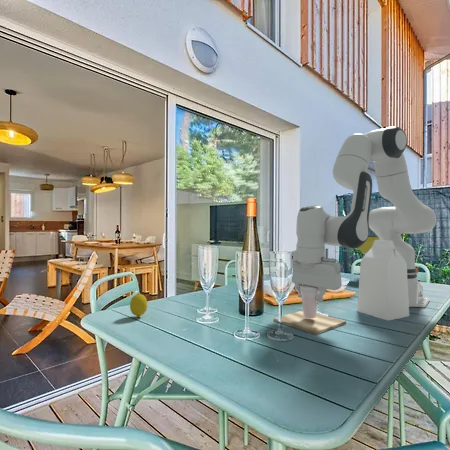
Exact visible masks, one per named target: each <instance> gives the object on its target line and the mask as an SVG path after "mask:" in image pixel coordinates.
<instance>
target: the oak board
mask: <svg viewBox="0 0 450 450" xmlns="http://www.w3.org/2000/svg"><path fill="white" fill-rule="evenodd" d="M281 316H282V323H281V324H283V325H286V326H288V327H292V328H295V329H298V330H301V331H304V332H307V333H309V334H310V333H311V334H312V335H316V336H317V335H320V334H322V333H324V332H328V331H330V330H332V329H336V328H338V327H340V326H343V325H346V324H347V321H346V320H343V319H339V318H335V317H331V316H328V315H324V314H320V313H317V312H316V317H315V318H306V317H304V314H303V309H302V310H299V311H295V312H293V313H292V312H291V313H288V314H285V315H281ZM278 317H279V316H278ZM278 317H277V316H276V317H273V322H277V323H279V322H278Z"/></svg>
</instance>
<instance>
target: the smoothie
mask: <svg viewBox="0 0 450 450" xmlns="http://www.w3.org/2000/svg"><path fill="white" fill-rule="evenodd" d="M300 290H301V297H302V298H301V297H300V298H301V304H302V310H303V314H304V317H306V318H315V317H316V313H317V310H318V303H319V302H318V301H316V296H317V295H319V293H320V291H319V287H314V286H308V285H303V284H302V285H300Z"/></svg>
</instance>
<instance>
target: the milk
mask: <svg viewBox="0 0 450 450" xmlns="http://www.w3.org/2000/svg"><path fill="white" fill-rule="evenodd" d="M359 266H360V267H359V277H358V278H359V281H358V295H357V309H356V311H357V312H358V313H362V314H364V315H369V316H371V317H375V318H378V319H381V320H385V321H392V320H397V319H402V318H406V317H410V307H409V299H408V279H407V264H406V261H405V259H404V258H403V257H402V256H401V255H400V253H399V252H398V251H397V250H396V249H395V246H394V244H393V241H389V240H375V241H374V243H373V246H372V248H371V249H370V250H369V251H368V252H367V253H366V254H365V256H364V255H363V257H362V258H361V260H360V265H359Z"/></svg>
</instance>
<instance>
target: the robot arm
mask: <svg viewBox="0 0 450 450" xmlns="http://www.w3.org/2000/svg"><path fill="white" fill-rule="evenodd" d="M407 146H408V138H407V134H406V132H405V131H404V129H403V128H401V127H400V126H387V127H386V128H379V129H373V130H369V131H368V132H366V133H353V134H351V135H349V136H347V138H345V140H344V141H343V143H342V145H341V147H340V150H339V151H338V153H337V156H336V159H335V162H334V164H333V168H332V177H333V178H334V180H335V182H336V183H337V184H338V185H339V186H341V187H343V188H344V189H347V190H351V191H352V192H353V193H352V201H351V207H350V212H349V213H348V214H347V215H344V216H343V215H342V216H341V215H340V216H339V215H338V216H334V215H331V214H329V213H327V212H326V211H325V210H324V207H323V206H322V205H319V204H318V205H309V206H308V205H307V206H303V207H301V208H300V209H299V210H298V212H297V215H296V237H297V243H296V245H295V246H296V247H295V249H296V250H293V251H289V252H288V253H290V252H292V253H293V256H292V259H293V277H292V282H291V283H294V286H295V289H296V291H297V297H298V298H300V299H302V297H301V290H300V285H308V286H314V287H319V295H317V296H316V301H318V303H322V302H324V295H325V294H326V292H327V290H329V291H330V290H331V291H338V290H340V289H341V287H342V286H343V284H342V274H341V269H342V268H341V265H342V264H341V262H339V261H338V260H337V259H336V258H330V257H329V258H328V257H326V256H325V255H326V246H332V247H333V246H334V247H343V248H348V249H353V250H355V249H357V248H359V247H360V246H362V245H363V244H364V243H365V242H366V240H367V239H368V236H370V230H371V231H372V232H373V233H374V234H375V235H376V236H378V237H379V239H380V240H389V241H393V244H394V246H395V249H396V250H397V251H398V252H399V253H400V255H401V256H402V257H403V258H404V259H405V261H406V264H407V279H408V299H409V308H411V307H413V308H426V306H427V305H428V304H429V302H430V298H429V297H426V296H424V287H423V285H422V284H421V282H420V281H419V280H418V278H417V277H418V275H417V274H419V268H418V267H417V268H416V266H415V265H416V260H415V259H416V251H415V249H414V247H413V246H412V245H411V244H409V243H407V242H405V241H404V240H403V237H402V234H411V235H412V234H414V235H417V234H423V233H430V232H432V230H433V229H434V228H435V227H436V224H437V215H436V212H435V210H433V209H432V208H431V207H430V206H427V205H425V204H424V203H423V202H422V201H421V200H420V199H419V198H418V197H417V196H416V194H415V193H414V191H413V189H412V186H411V181H410V178H409V172H408V165H407V162H406V159H405V156H404V155H405V154H404V152H405V150H406V148H407ZM373 162H374V171H375V172H374V173H375V178H376V184H377V185H376V186H377V188H378V189H377V190H378V193H379V195H380V196H381V197H382V198H383V199H385V200H388V201H389V202H391V204H392V205H393V206H381V207H378V208H375V209H371V201H372V193H373V179H372V176H371V174H369V173H368V170H369V166H370V163H373ZM370 209H371V210H370Z"/></svg>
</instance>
